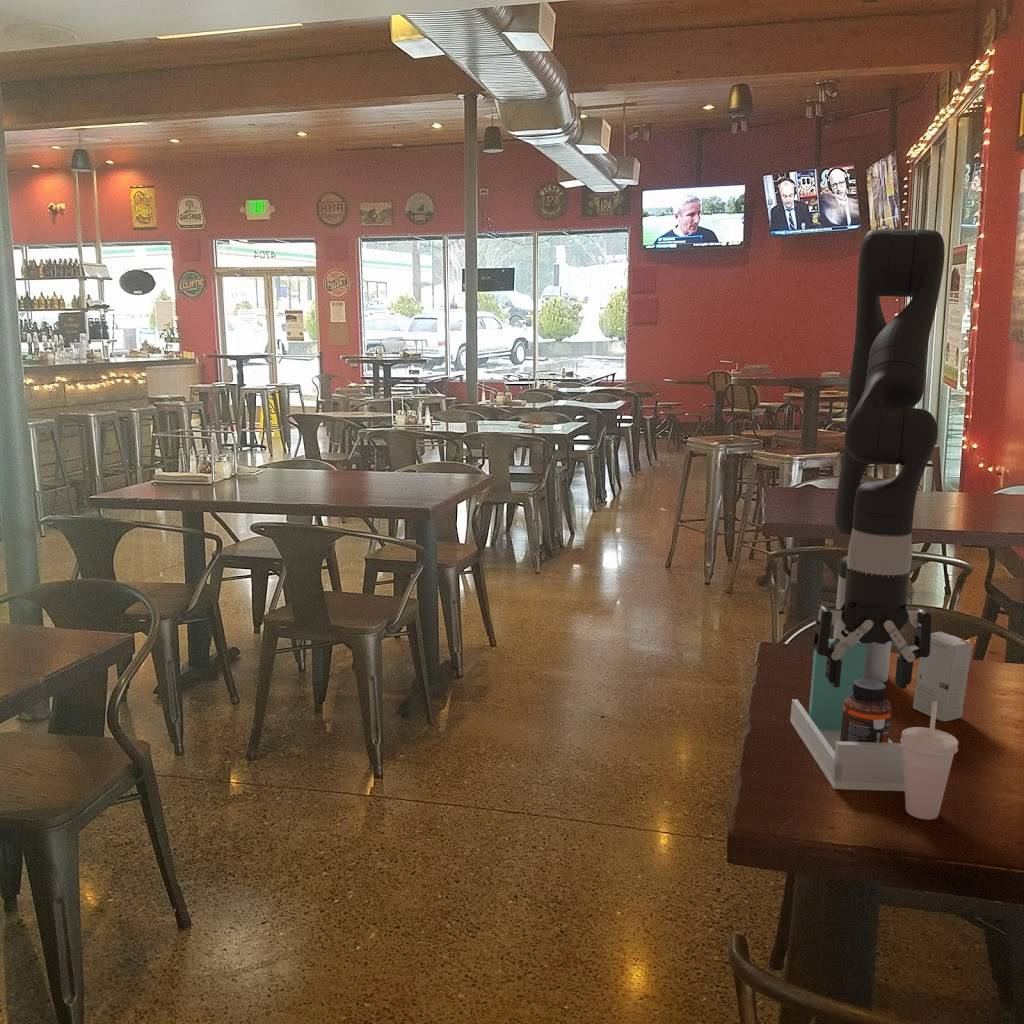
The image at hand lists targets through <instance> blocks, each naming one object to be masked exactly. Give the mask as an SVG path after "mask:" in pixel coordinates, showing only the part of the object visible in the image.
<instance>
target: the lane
mask: <svg viewBox="0 0 1024 1024" xmlns="http://www.w3.org/2000/svg"><path fill="white" fill-rule="evenodd" d="M790 710H791V711H790V723H791V724H792V727H793V728H794V730H795V731H796V732H797V735H798V736H799V737H800V738H801V740H802V742H803V744H805V745H804V746H805V747H807V749H808V750H809V751H808V752H809V753H810V754H811V756H812V757H813V758H814V760H815V762H816V763H817V765H818V766H819V768H820V770H821V771H822V773H823V774H824V776H825V777H826V779H827V780H828V782H829V784H830V786H831V787H832V788H833V790H850V791H851V790H853V791H854V790H859V791H860V790H861V791H885V792H889V791H891V792H905V779H904V752H903V744H902V743H901V742H900V743H899V742H893V741H892V740H891V739H890V737H889V740H888V743H875V742H842V741H840V735H841V729H818V728H817V726H816V725H815V723H814V722H813V721H812V719H811V718H810V716H809V712H807V711H806V709H805V708H804V706H803V705H802V704H801V703H800V701H799V700H798V699H797V698H796V699H793V698H792V699H791V709H790Z"/></svg>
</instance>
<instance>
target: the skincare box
mask: <svg viewBox="0 0 1024 1024" xmlns="http://www.w3.org/2000/svg"><path fill="white" fill-rule="evenodd" d="M972 649H973V642H970V641H968V640H965V639H962V638H960V637H957V636H955V635H951V634H948V633H945V632H943V631H936V632H931V640H930V655H929V656H928V657H926V658H923V657H921V658H918V666H917V674H916V680H915V687H914V694H913V695H914V696H913V703H912V708H913V709H914V710H916V711H919V712H920V713H922V714H925V715H927V716H929V717H931V711H932V701H937V711H936V720H938V721H940V722H949V721H953V720H957V719H961V718H962V716H963V709H964V704H965V696H966V691H967V682H968V676H969V669H970V663H971V656H972Z"/></svg>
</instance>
